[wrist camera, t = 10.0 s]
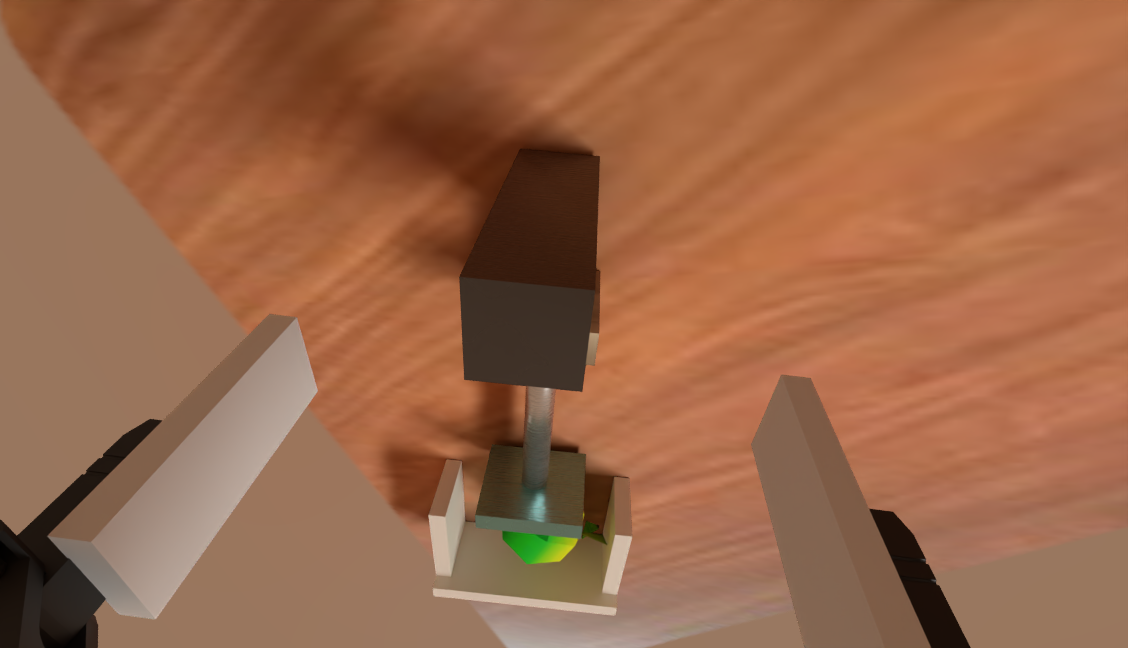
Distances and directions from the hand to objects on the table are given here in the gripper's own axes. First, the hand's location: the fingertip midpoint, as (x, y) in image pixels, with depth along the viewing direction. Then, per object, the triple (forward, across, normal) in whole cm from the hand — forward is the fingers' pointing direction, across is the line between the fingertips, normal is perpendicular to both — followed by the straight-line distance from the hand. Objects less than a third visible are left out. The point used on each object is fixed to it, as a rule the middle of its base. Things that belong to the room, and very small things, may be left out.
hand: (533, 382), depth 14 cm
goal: (+15, -1, -28) cm, 31 cm away
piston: (+15, -1, -10) cm, 18 cm away
